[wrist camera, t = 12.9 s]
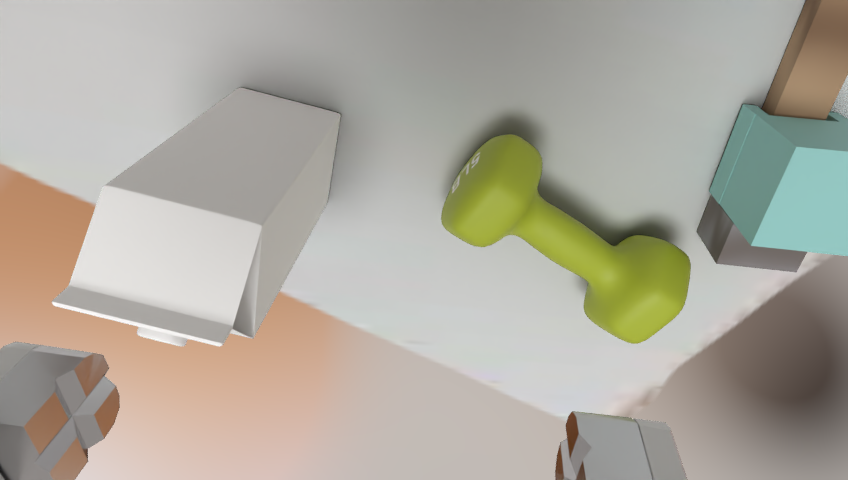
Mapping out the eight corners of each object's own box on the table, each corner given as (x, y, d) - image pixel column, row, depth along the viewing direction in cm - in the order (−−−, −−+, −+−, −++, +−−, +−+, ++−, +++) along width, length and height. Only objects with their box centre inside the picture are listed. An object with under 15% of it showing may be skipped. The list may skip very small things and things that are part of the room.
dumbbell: (434, 191, 39) (423, 245, 33) (503, 104, 35) (506, 147, 29) (604, 304, 43) (623, 371, 37) (685, 236, 39) (720, 298, 33)
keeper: (742, 104, 33) (795, 146, 27) (837, 112, 33) (910, 157, 27) (709, 191, 36) (749, 245, 31) (795, 199, 36) (852, 256, 30)
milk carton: (239, 85, 36) (37, 231, 20) (342, 112, 36) (224, 278, 20) (235, 178, 40) (63, 363, 24) (328, 202, 40) (220, 401, 24)
